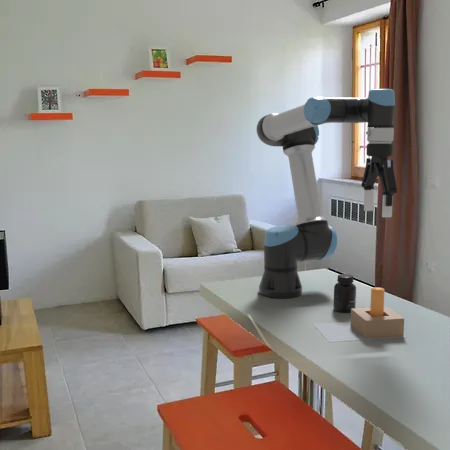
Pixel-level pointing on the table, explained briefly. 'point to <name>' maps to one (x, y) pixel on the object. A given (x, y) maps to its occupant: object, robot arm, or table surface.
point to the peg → (377, 302)
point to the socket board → (342, 332)
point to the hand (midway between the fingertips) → (377, 214)
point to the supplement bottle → (344, 294)
